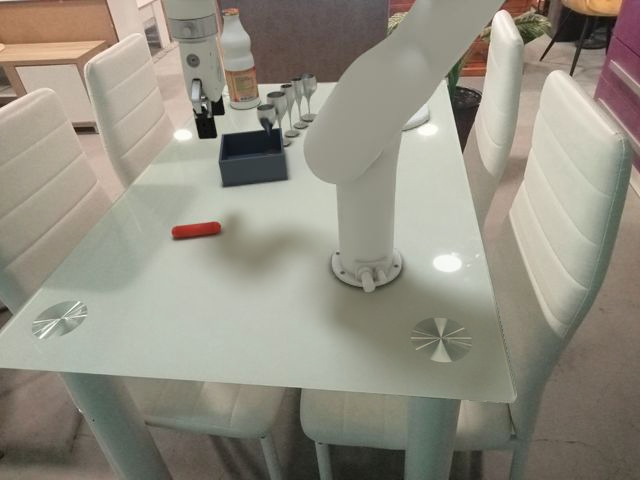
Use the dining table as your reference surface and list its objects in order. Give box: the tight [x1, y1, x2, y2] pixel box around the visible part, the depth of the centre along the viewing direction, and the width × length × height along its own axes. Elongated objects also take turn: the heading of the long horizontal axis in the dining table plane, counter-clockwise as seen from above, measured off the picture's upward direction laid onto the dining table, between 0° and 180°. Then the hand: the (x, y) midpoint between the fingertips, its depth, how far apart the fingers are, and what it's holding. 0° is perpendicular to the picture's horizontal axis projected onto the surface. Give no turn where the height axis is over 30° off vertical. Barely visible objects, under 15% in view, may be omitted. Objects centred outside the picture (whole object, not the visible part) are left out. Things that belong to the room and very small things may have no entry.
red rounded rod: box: [170, 221, 222, 239], centre depth 97 cm, size 10×2×2 cm, turn 96°
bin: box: [217, 127, 288, 187], centre depth 117 cm, size 15×15×6 cm
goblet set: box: [256, 73, 318, 155], centre depth 129 cm, size 28×6×13 cm, turn 155°
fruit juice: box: [219, 8, 261, 110], centre depth 146 cm, size 9×9×28 cm
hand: (212, 126), depth 87 cm, fingers open, 9 cm apart
